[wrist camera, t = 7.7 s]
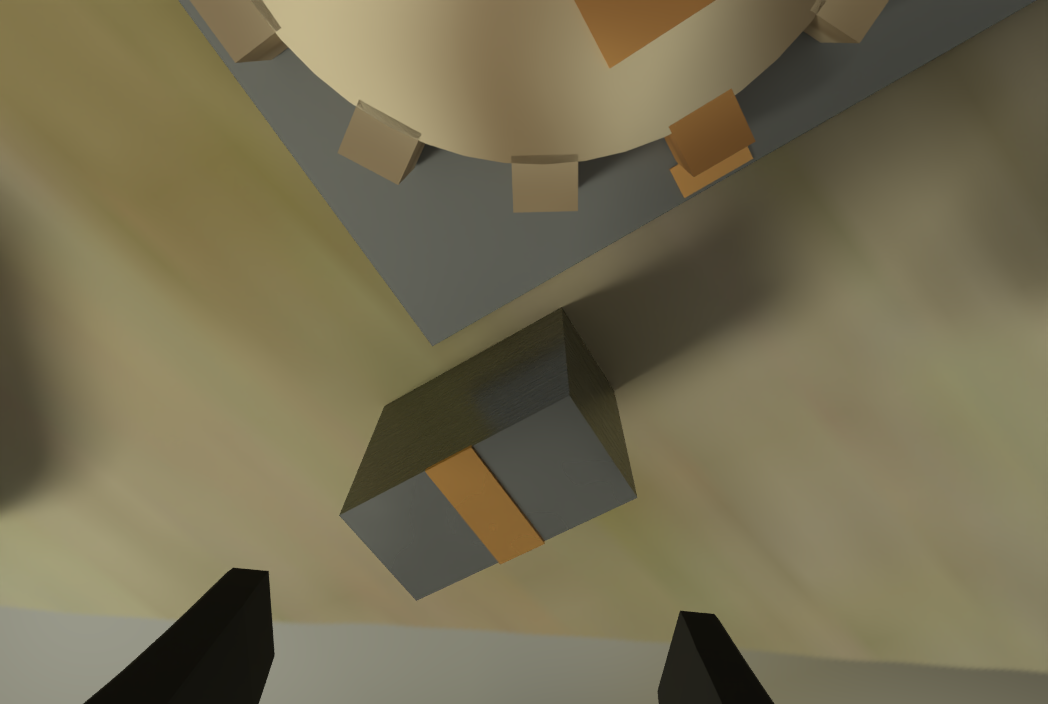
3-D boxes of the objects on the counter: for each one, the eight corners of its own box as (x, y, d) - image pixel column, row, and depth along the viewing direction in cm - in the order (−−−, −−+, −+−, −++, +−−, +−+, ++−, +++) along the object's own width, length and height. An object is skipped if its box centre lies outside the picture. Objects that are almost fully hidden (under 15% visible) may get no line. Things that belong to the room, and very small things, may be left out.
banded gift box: (614, 390, 19) (638, 500, 15) (442, 478, 21) (416, 603, 16) (561, 306, 18) (569, 396, 14) (384, 405, 20) (337, 516, 15)
